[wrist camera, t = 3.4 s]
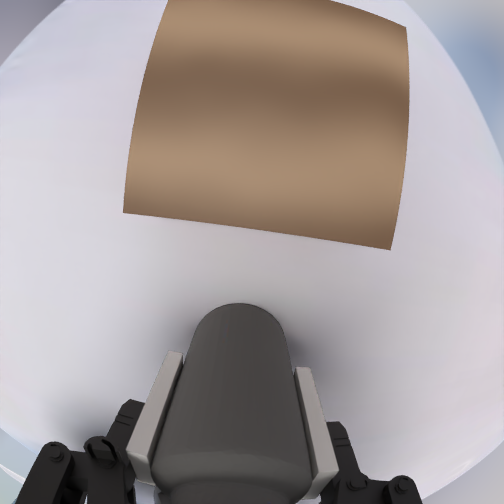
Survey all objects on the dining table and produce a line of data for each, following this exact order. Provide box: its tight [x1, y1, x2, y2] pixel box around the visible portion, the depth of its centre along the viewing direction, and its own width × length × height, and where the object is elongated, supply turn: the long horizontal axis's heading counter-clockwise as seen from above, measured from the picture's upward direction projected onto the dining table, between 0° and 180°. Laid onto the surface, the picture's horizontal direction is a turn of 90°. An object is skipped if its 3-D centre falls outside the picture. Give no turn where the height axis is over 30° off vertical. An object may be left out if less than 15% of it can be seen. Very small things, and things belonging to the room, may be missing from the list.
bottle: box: [150, 304, 312, 504], centre depth 10 cm, size 6×6×15 cm
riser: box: [123, 0, 409, 250], centre depth 12 cm, size 12×12×4 cm
